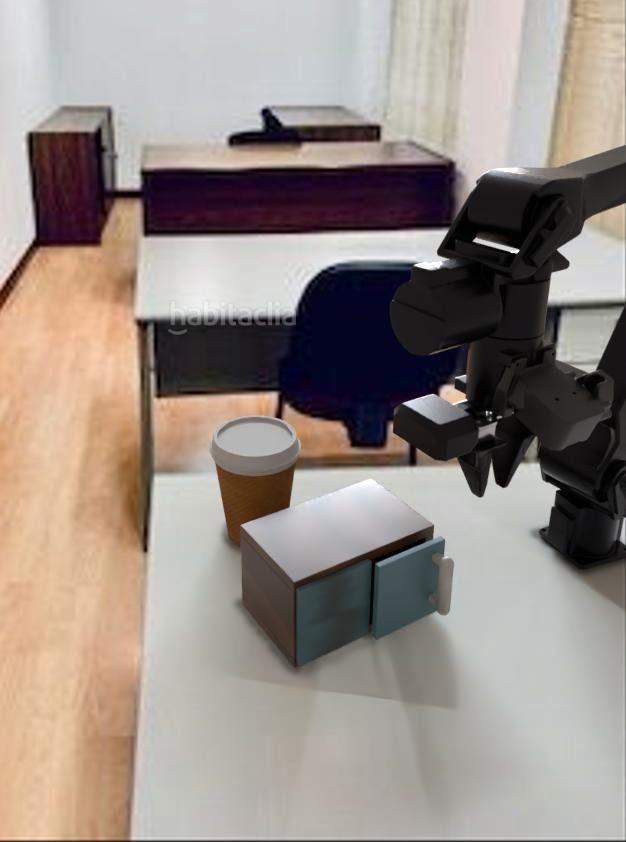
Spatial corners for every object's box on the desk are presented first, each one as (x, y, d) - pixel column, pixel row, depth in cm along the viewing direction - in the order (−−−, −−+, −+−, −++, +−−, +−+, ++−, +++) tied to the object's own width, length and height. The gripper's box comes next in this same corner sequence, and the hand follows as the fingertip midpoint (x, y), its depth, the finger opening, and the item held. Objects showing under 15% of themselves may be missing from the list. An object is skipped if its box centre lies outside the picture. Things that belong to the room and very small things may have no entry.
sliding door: (435, 606, 70) (441, 535, 67) (456, 624, 68) (463, 552, 65) (371, 636, 67) (374, 563, 64) (391, 656, 65) (395, 582, 62)
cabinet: (368, 552, 79) (371, 477, 75) (432, 609, 71) (439, 528, 68) (242, 604, 72) (239, 524, 69) (297, 673, 64) (298, 587, 61)
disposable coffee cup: (295, 565, 77) (295, 462, 73) (203, 555, 79) (198, 454, 75) (305, 511, 86) (306, 416, 81) (223, 503, 88) (219, 410, 83)
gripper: (500, 390, 51) (480, 578, 57) (671, 335, 60) (639, 504, 65) (392, 338, 61) (384, 504, 66) (554, 296, 69) (534, 447, 74)
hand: (489, 490), depth 68 cm, fingers open, 3 cm apart
